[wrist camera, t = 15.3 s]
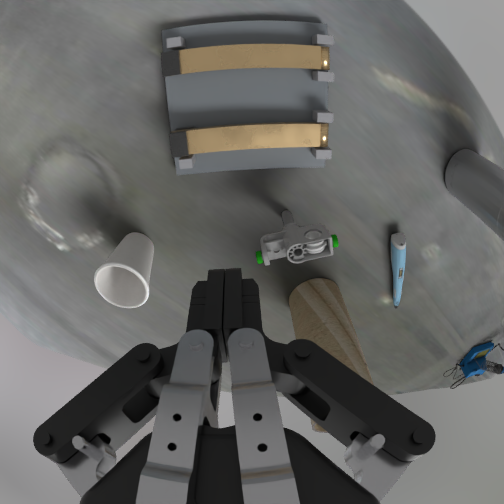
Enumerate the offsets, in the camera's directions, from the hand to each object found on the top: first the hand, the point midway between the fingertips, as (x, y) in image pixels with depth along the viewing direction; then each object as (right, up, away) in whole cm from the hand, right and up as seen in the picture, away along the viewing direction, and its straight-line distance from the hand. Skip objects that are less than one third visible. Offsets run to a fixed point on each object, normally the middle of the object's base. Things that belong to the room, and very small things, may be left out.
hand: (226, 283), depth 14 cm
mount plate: (+1, +21, +19) cm, 29 cm away
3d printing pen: (+30, -4, +44) cm, 53 cm away
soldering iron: (+89, -47, +74) cm, 125 cm away
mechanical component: (+6, +7, +30) cm, 31 cm away
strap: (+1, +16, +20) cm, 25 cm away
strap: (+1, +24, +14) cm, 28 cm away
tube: (+13, -7, +41) cm, 43 cm away
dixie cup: (-17, +2, +32) cm, 36 cm away
